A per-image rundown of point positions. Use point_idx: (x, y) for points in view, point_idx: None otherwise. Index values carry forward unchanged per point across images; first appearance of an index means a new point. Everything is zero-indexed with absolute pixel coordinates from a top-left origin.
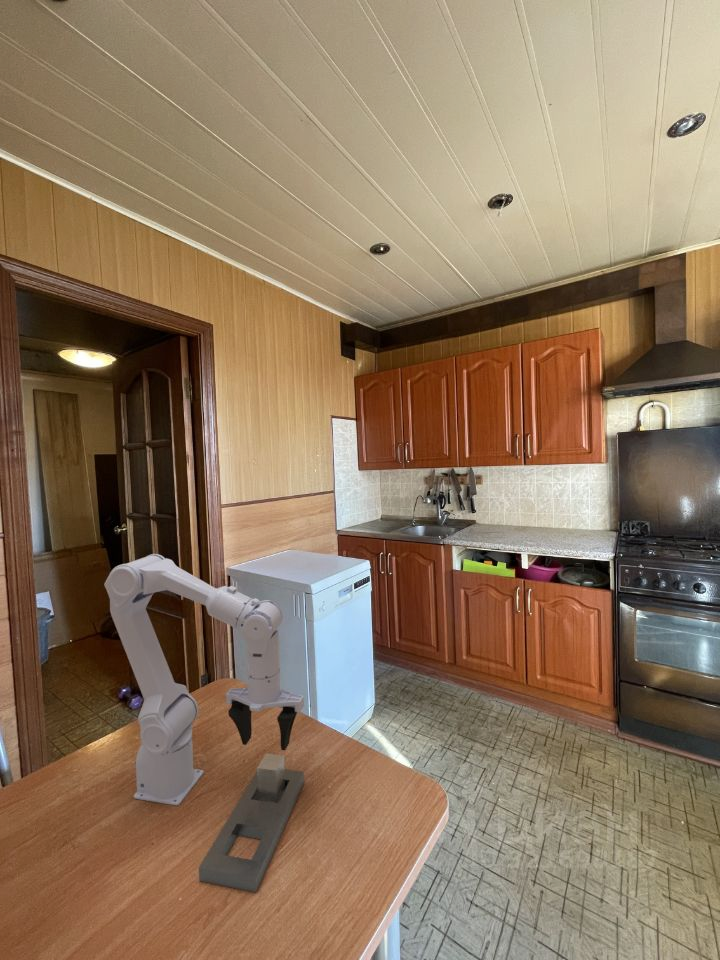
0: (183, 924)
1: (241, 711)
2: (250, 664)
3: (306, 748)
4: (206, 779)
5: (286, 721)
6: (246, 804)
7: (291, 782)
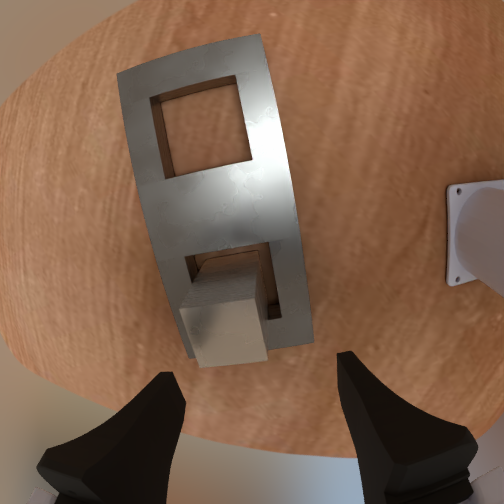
0: None
1: (390, 483)
2: None
3: (251, 413)
4: (432, 272)
5: (47, 455)
6: (269, 222)
7: None
